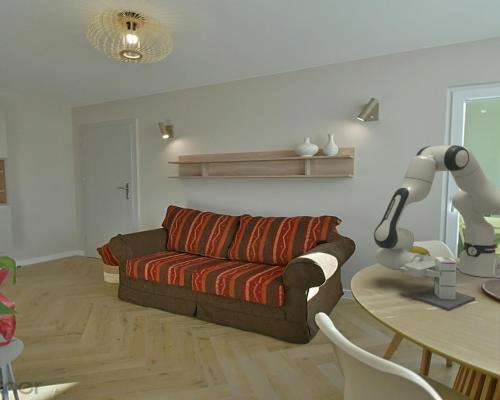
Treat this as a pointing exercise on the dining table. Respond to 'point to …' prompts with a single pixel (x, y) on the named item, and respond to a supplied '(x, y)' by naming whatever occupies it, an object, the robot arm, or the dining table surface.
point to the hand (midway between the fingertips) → (447, 272)
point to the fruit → (419, 250)
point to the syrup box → (445, 278)
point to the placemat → (444, 300)
